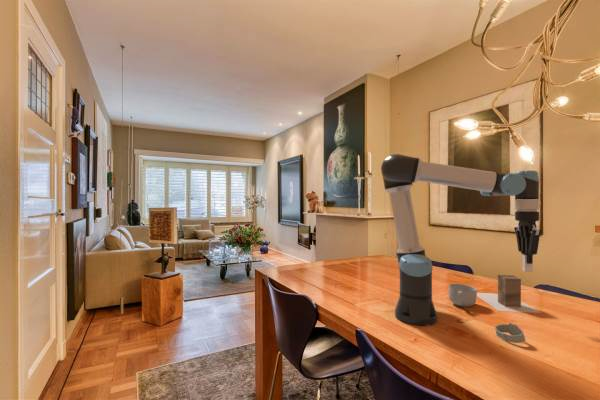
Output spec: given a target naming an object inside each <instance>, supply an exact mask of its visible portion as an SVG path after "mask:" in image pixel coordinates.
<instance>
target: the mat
mask: <svg viewBox="0 0 600 400" xmlns="http://www.w3.org/2000/svg"><path fill="white" fill-rule="evenodd" d="M476 297H477V298H479V299H481V300H482V301H484V302H485V303H487V304H488V305H490V306H491V307H492V308H494V310H497V311H498V312H512V313H514V312H515V313H535V314H536V313H539V314H542V311H540V310H538V309H536V308H534V307H532V306H530V305H529V304H527V303H525V302H523V301H522V300H521V308H515V307H504V306H503V305H501V304H500V303H498V293H492V292H491V293H488V292H487V293H486V292H477V296H476Z"/></svg>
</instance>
